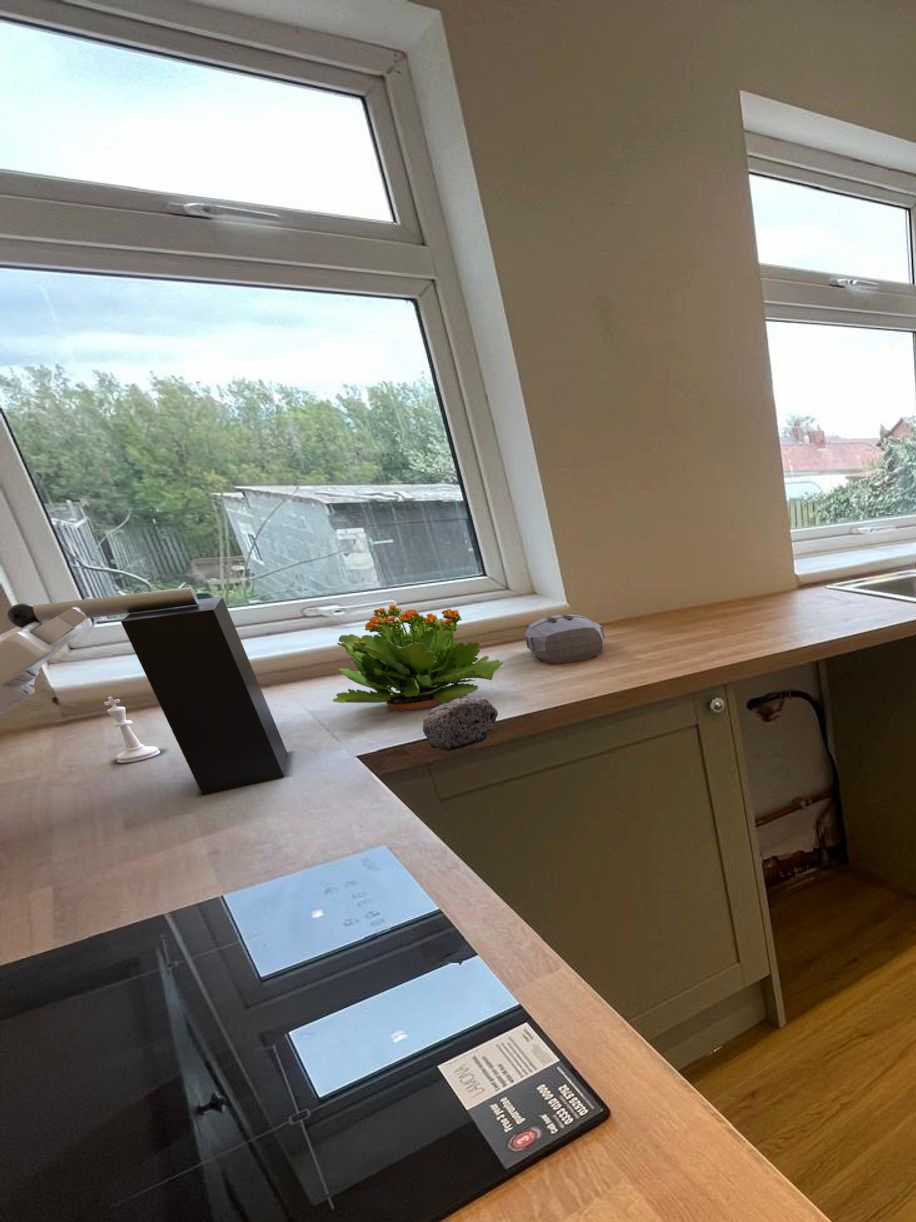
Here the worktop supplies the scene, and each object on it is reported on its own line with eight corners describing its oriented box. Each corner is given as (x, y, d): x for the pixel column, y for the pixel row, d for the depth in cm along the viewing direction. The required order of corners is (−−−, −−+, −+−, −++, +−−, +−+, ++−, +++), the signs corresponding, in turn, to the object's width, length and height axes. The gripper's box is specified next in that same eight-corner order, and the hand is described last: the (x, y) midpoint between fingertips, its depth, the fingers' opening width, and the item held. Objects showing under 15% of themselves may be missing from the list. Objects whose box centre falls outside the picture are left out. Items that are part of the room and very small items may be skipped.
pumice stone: (434, 754, 131) (429, 756, 122) (418, 707, 129) (411, 706, 121) (506, 736, 136) (506, 738, 127) (491, 692, 134) (490, 690, 126)
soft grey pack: (616, 654, 175) (590, 637, 189) (607, 615, 171) (582, 602, 186) (539, 669, 166) (519, 651, 180) (528, 629, 163) (508, 614, 177)
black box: (202, 795, 113) (120, 621, 104) (211, 769, 122) (137, 607, 113) (284, 776, 118) (213, 609, 109) (287, 753, 127) (222, 596, 118)
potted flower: (369, 736, 133) (330, 632, 126) (307, 715, 144) (269, 618, 138) (519, 692, 152) (493, 599, 145) (454, 676, 164) (427, 590, 157)
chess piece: (164, 753, 129) (136, 694, 125) (122, 765, 125) (91, 704, 121) (155, 748, 132) (126, 690, 128) (113, 759, 128) (82, 699, 124)
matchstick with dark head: (10, 633, 101) (-3, 607, 100) (18, 628, 104) (5, 603, 102) (198, 609, 111) (188, 585, 110) (201, 605, 113) (191, 582, 112)
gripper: (-82, 676, 92) (39, 598, 96) (-24, 643, 107) (79, 577, 111) (-16, 714, 96) (98, 638, 100) (32, 677, 111) (129, 612, 115)
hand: (88, 606), depth 106 cm, fingers open, 7 cm apart
